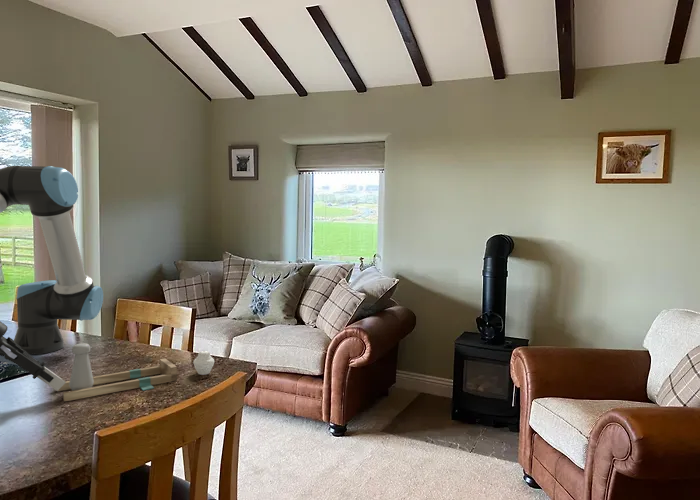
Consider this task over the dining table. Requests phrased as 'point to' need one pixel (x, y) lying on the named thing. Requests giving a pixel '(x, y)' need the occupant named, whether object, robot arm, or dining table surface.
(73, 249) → the robot arm
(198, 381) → the dining table surface
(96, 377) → the guide rails
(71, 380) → the salt shaker
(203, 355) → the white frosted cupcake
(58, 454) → the dining table surface
